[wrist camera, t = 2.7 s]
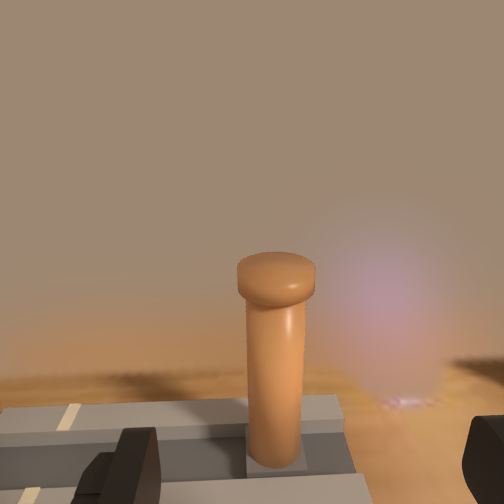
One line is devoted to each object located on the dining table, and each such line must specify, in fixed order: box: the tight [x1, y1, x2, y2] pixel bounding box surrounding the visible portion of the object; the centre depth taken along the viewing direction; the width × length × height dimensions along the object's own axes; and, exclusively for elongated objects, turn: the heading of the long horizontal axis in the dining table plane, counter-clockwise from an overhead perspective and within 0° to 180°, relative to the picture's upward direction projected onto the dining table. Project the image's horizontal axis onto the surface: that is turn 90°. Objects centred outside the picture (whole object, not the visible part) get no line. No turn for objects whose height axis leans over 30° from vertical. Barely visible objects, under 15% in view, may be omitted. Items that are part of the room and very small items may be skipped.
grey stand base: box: [0, 394, 373, 504], centre depth 26 cm, size 24×9×3 cm, turn 92°
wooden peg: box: [237, 252, 315, 479], centre depth 23 cm, size 4×4×14 cm
